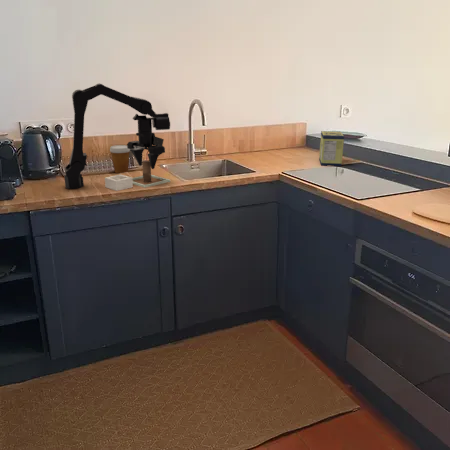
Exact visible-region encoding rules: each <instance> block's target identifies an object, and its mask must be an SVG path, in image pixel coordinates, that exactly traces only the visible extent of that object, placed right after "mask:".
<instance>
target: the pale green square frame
mask: <svg viewBox="0 0 450 450" xmlns="http://www.w3.org/2000/svg"><path fill="white" fill-rule="evenodd" d="M152 178H153V179H157V180H161V181H156V182H150V183H146V184H144V183H139V182H136V181H138V180H141V179H142V180H143V175H140V176H136V177H132V181H133V185H134V186H137V187H141V188H145V189H146V188H149V187H150V188H151V187H154V186H158V185H163V184H166V183H171V179H169V178H164V177H161V176H158V175H154V174H151V179H152Z"/></svg>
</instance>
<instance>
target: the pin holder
mask: <svg viewBox="0 0 450 450" xmlns="http://www.w3.org/2000/svg"><path fill="white" fill-rule="evenodd" d="M132 178H133V177H131V176H129V175H128V176H127V175H124V174H122V173H119V174H116V175H111V176H107V177H104V186H105V188H107V189H109V190H112V191H116V192H118V191H122V190H123V191H124V190H127V189H131V188H133V185H134V184H133V181H134V180H133V181H132Z"/></svg>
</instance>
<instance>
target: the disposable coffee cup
mask: <svg viewBox="0 0 450 450" xmlns="http://www.w3.org/2000/svg"><path fill="white" fill-rule="evenodd" d="M109 148H110V149H109V151H110V154H111V161H112V164H113V170H114V173H116V174H123V173H128V172H129V163H130V153H131V151H130V149H128V148H127V145H124V144H116V145H112V146H110V147H109Z"/></svg>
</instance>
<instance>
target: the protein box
mask: <svg viewBox="0 0 450 450" xmlns="http://www.w3.org/2000/svg"><path fill="white" fill-rule="evenodd" d="M344 145H345V135H344V134H343V133H342V132H341V131H331V130H330V131H329V130H328V131H327V130H326V131H325V130H324V131H323V130H321V132H320V143H319V154H318V155H319V157H318V161H319V163H320V165H321V166H322V167H328V166H327V165H334V166H333V167H342V163H343V153H344Z"/></svg>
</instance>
